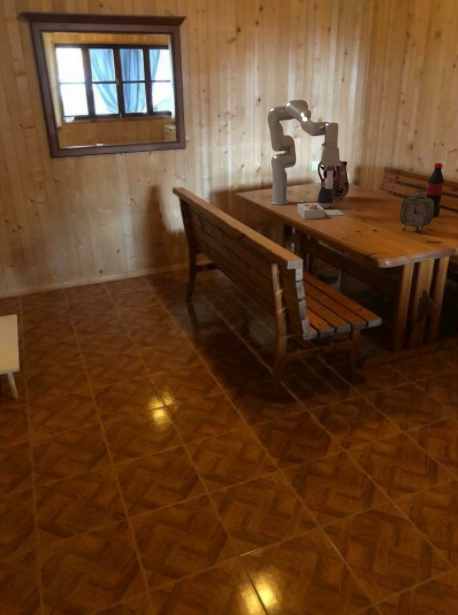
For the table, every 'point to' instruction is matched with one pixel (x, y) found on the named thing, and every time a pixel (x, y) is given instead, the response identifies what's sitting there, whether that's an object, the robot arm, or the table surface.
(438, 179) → the cola bottle
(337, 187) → the ceramic pitcher
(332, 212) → the mat
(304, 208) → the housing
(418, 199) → the tabletop clock
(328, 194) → the pump dispenser
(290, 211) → the table surface
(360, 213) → the table surface
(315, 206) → the plunger
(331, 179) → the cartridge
